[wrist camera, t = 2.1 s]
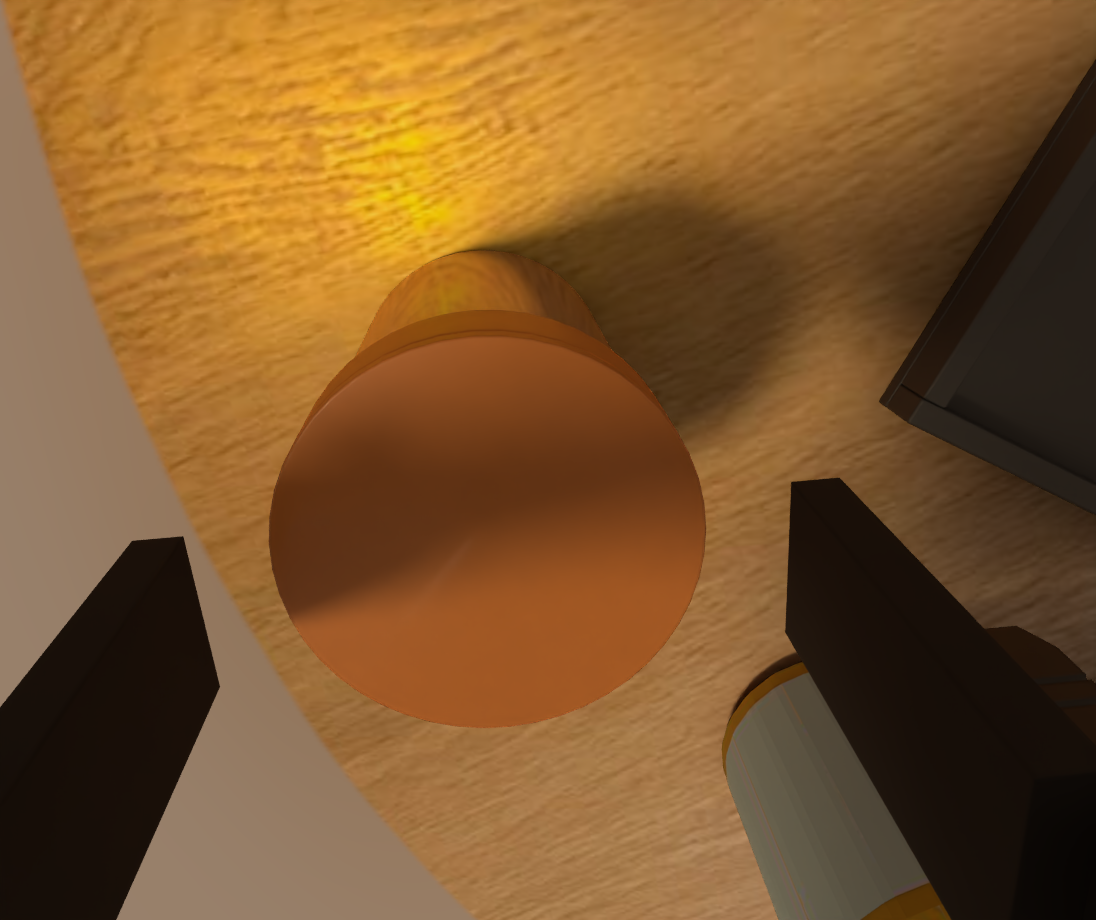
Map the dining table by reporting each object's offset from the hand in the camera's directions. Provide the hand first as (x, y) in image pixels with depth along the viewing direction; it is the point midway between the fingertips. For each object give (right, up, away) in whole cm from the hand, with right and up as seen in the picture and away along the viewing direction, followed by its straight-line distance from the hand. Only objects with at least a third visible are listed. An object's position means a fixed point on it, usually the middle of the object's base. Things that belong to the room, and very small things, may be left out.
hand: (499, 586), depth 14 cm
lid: (0, +1, +2) cm, 2 cm away
